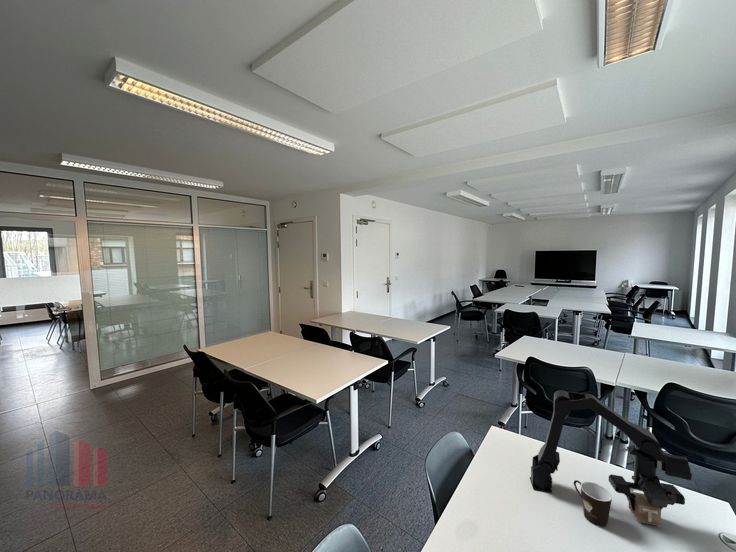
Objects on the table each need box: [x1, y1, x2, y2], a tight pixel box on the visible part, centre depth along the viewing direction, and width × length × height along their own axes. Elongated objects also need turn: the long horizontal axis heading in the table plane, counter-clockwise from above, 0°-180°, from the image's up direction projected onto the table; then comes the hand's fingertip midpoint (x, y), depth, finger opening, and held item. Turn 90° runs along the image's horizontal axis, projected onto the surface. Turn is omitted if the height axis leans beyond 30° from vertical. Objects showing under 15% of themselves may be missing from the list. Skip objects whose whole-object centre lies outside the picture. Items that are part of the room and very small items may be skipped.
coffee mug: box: [573, 479, 613, 528], centre depth 102 cm, size 12×9×10 cm
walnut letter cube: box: [628, 491, 662, 527], centre depth 100 cm, size 6×6×6 cm
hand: (644, 512), depth 100 cm, fingers closed on walnut letter cube, 6 cm apart
